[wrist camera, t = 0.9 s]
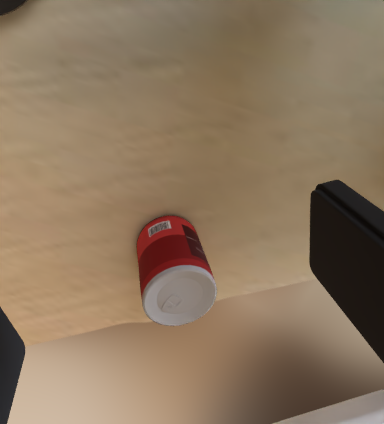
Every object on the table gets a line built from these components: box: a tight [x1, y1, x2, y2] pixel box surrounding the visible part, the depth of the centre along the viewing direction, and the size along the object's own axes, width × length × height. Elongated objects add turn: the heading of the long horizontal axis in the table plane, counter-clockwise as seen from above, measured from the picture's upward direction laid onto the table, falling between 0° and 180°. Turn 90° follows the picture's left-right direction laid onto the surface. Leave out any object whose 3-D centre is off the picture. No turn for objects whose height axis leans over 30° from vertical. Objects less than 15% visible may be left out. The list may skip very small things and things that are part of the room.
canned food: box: [137, 216, 217, 326], centre depth 39 cm, size 8×8×11 cm
